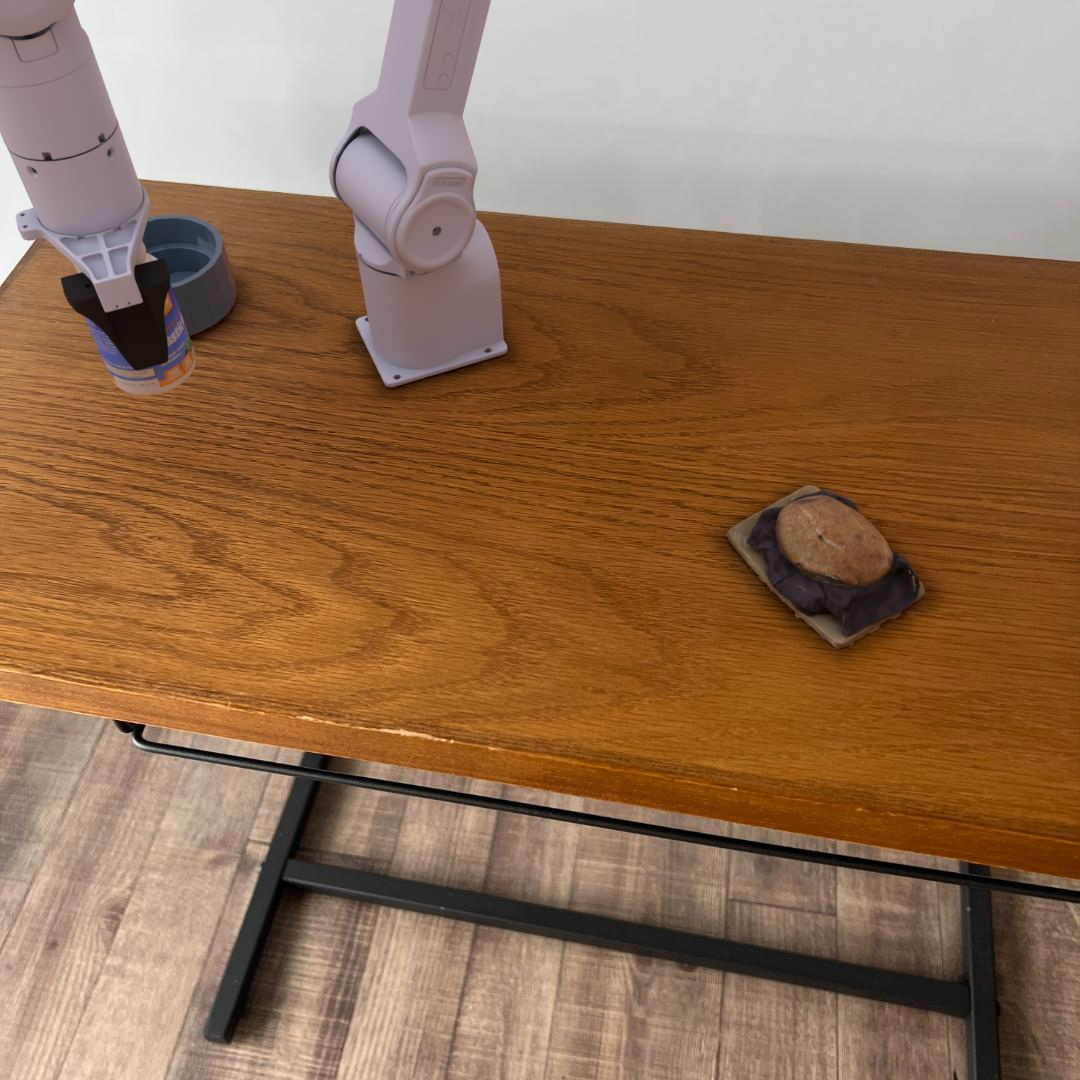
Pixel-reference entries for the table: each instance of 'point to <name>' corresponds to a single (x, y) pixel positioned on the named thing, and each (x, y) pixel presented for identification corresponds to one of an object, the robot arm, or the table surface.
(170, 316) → the pill bottle
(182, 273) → the bowl
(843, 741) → the table surface
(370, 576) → the table surface
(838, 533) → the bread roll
